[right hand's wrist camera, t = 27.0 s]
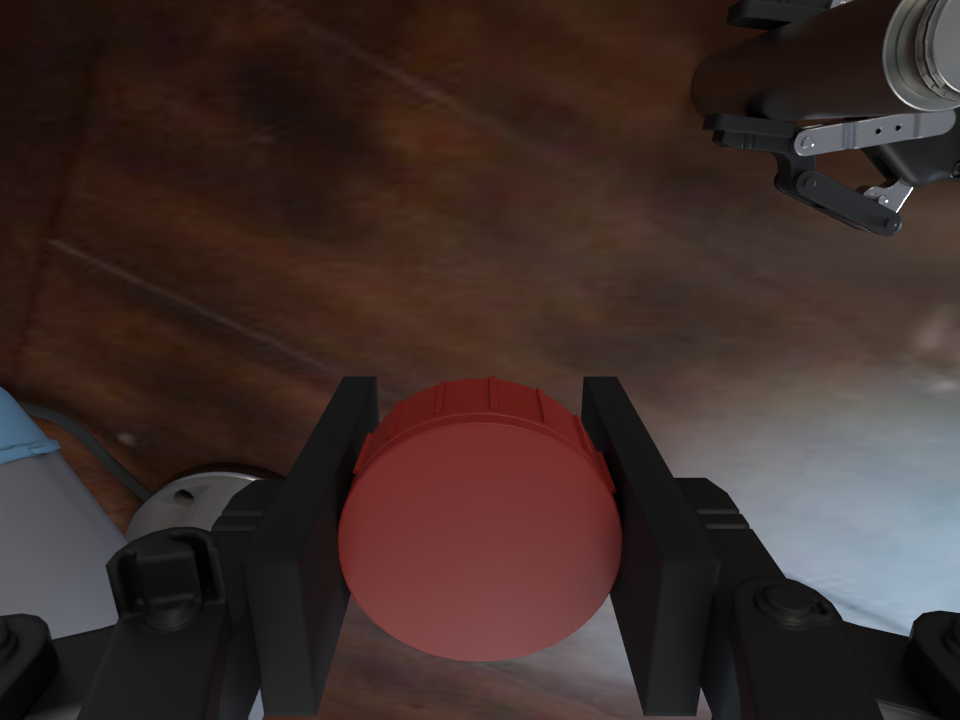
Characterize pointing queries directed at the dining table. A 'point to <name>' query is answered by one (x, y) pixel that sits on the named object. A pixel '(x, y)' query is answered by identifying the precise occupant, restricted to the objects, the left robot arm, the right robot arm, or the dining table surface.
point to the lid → (480, 522)
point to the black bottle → (840, 64)
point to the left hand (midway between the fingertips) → (722, 69)
